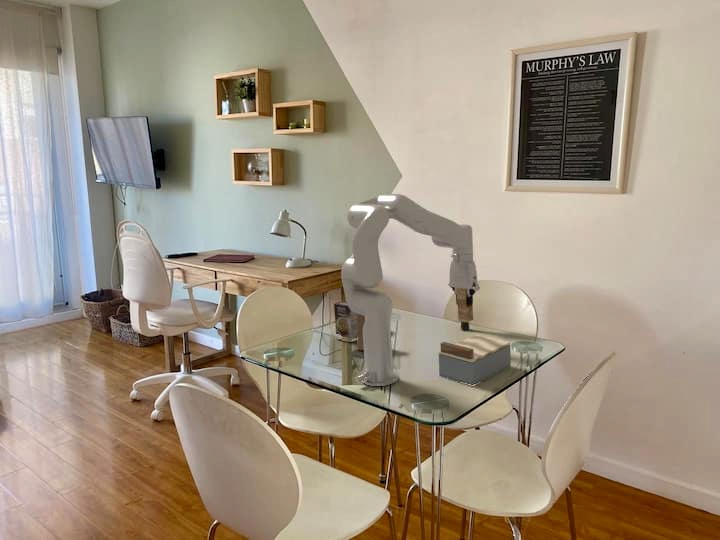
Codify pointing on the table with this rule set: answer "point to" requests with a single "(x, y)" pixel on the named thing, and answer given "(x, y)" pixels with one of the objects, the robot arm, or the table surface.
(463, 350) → the lid
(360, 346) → the wooden block
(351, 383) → the table surface
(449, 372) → the grey open box
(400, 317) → the table surface
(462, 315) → the brown wooden bar
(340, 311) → the coffee box
